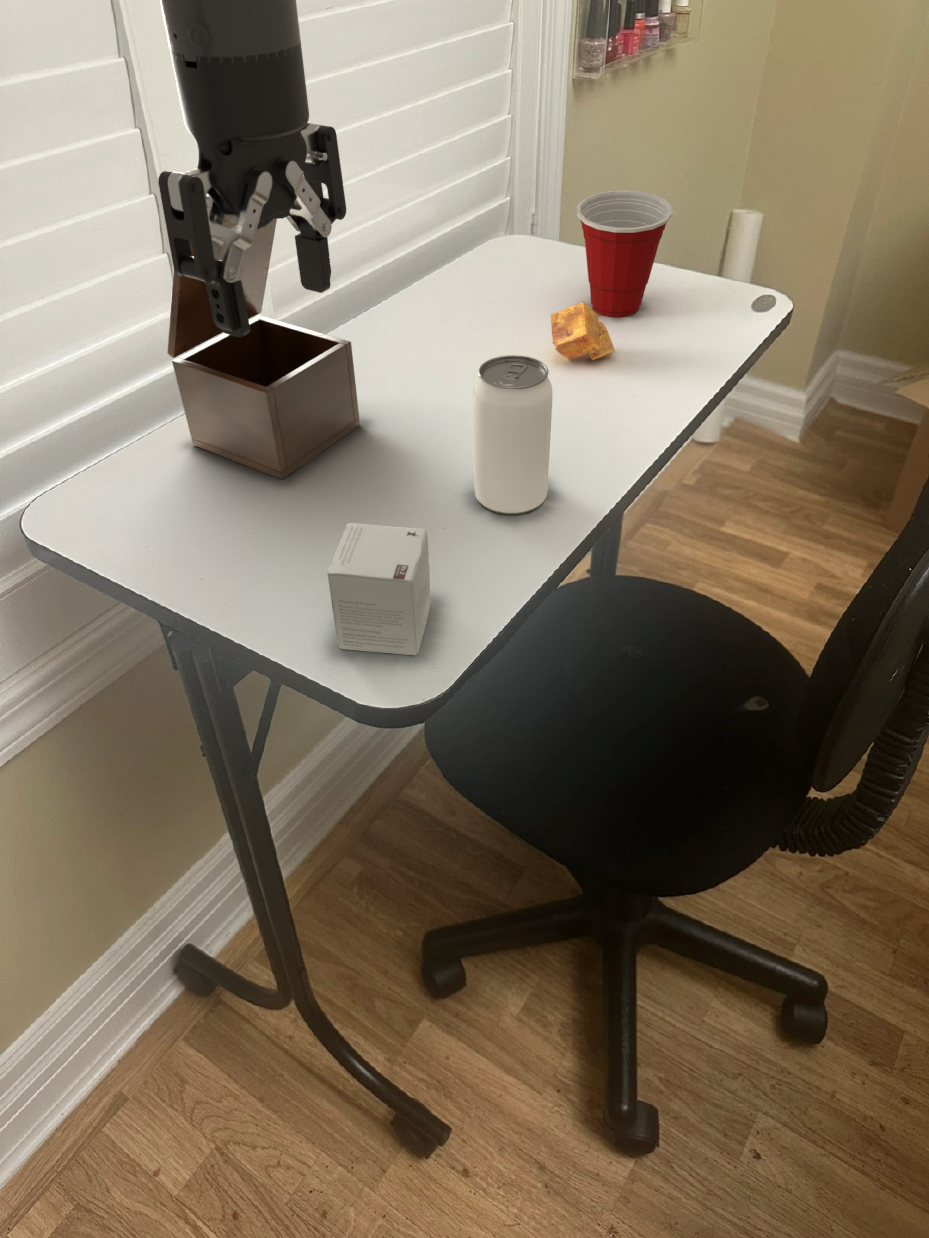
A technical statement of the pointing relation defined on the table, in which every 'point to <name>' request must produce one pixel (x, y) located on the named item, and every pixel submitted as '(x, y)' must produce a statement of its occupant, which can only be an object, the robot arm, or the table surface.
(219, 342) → the chest
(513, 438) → the can
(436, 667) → the table surface
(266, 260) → the lid
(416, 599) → the product carton
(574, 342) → the pyrite
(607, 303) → the plastic cup
